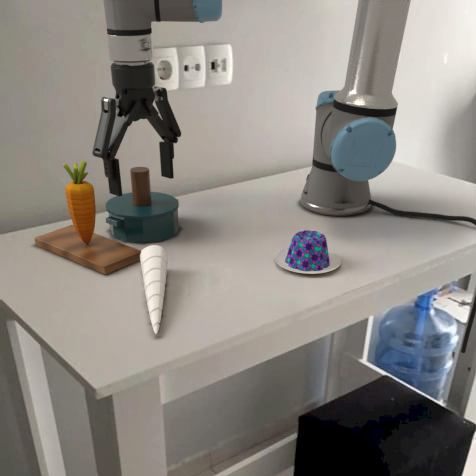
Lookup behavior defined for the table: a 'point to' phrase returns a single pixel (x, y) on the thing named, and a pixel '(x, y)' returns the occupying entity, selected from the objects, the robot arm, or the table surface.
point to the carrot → (81, 202)
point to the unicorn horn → (154, 280)
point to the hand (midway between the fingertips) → (142, 185)
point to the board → (89, 250)
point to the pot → (144, 228)
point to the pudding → (308, 254)
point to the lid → (141, 199)
